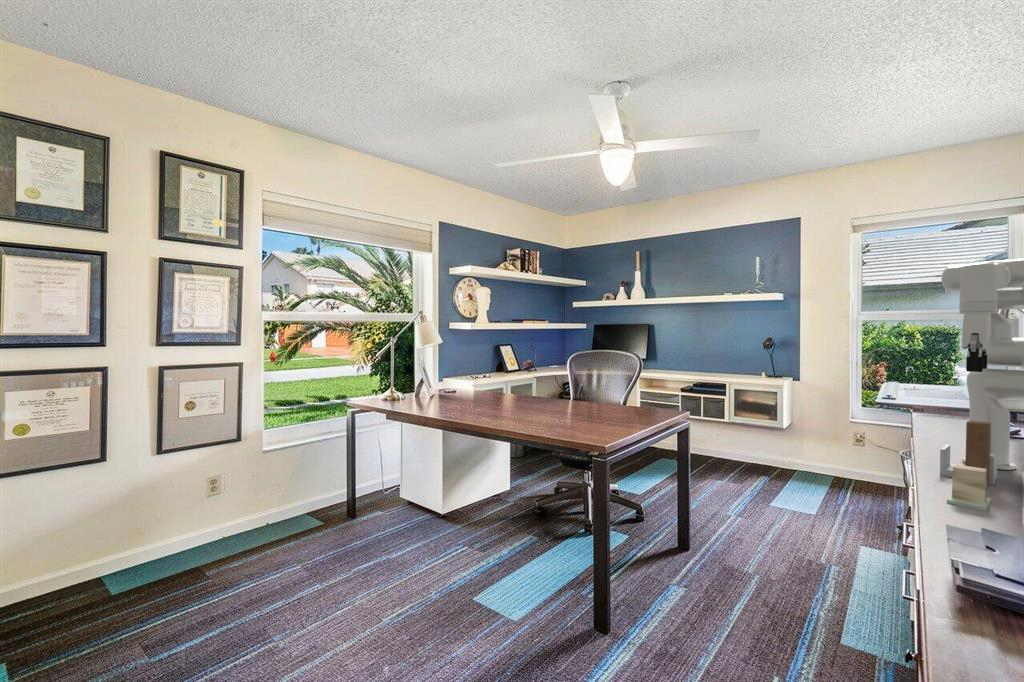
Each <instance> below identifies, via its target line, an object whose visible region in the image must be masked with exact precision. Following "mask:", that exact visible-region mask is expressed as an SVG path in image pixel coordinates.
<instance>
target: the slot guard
mask: <svg viewBox="0 0 1024 682" xmlns="http://www.w3.org/2000/svg"><path fill="white" fill-rule="evenodd" d="M997 455H998V451H992V452H991V454H990V476H989V485H994V483H995V482H996V481H997V478H998V469H997ZM939 458H940V459H939V476H942V477H948V478H952V469H953V466H954V465H955V464H954V463H951V444H949V443H948V444H947V443H946V444H944V445H943V446H942V447H941V448H940V453H939Z"/></svg>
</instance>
